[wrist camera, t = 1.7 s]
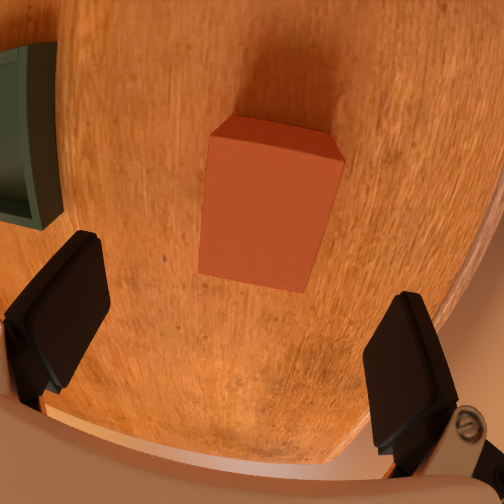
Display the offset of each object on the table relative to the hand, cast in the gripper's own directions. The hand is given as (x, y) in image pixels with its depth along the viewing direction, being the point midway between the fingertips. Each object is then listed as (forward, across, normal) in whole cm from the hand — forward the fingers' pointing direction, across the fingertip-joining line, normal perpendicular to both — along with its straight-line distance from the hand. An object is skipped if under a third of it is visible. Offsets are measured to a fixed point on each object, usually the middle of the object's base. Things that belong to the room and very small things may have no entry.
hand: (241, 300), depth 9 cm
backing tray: (+9, +23, -2) cm, 25 cm away
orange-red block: (+9, 0, 0) cm, 9 cm away
